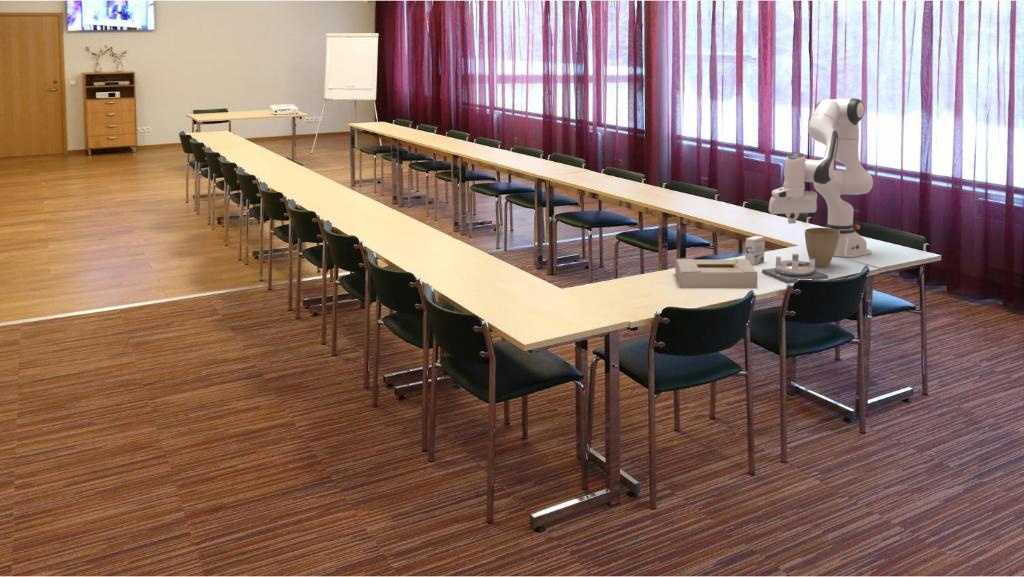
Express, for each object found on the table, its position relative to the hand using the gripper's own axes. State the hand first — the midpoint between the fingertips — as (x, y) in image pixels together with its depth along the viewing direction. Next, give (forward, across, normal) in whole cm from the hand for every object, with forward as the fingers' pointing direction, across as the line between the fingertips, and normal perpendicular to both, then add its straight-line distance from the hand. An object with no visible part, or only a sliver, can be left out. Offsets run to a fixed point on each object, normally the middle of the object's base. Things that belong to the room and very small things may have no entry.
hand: (791, 223), depth 412 cm
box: (+22, +36, +11) cm, 43 cm away
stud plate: (+21, +1, +9) cm, 23 cm away
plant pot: (+22, -16, -6) cm, 28 cm away
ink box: (+22, +10, -16) cm, 29 cm away
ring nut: (+19, +1, +9) cm, 21 cm away
